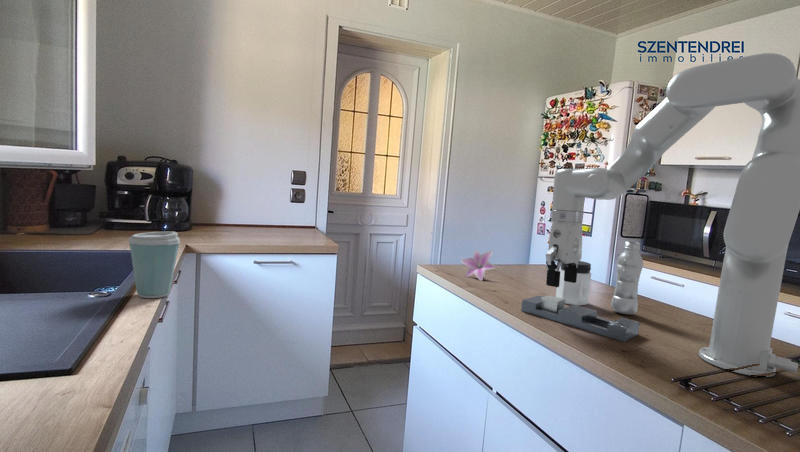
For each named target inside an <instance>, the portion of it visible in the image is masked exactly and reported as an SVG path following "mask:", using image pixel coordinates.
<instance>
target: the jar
mask: <svg viewBox="0 0 800 452" xmlns="http://www.w3.org/2000/svg"><path fill="white" fill-rule="evenodd" d="M565 266H567V265H566V264H565V263H564V262H562V264H561V267H560V269H559V271H560V283H559V287H556V290H555V297H558V298H562V299H566V302H565V305H566V304H567V305H570V306H572V305H577V306H585V305H588V302H589V294H590V287H591V280H592V273H591V269H592V268H591V267H592V264H591V263H589V262H588V261H587V262H586V261H582V260H580V261H579V262H578V269H577V281H576V283H571V282H566V281H564V272H565Z"/></svg>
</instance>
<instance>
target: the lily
mask: <svg viewBox="0 0 800 452" xmlns="http://www.w3.org/2000/svg"><path fill="white" fill-rule="evenodd" d="M493 253H494V250H487V251H486V252H484V253H480V252H479V250H477V249H476V250H475V251H474V254H473V257H467V258H463V259H460V262H461V263H462V264H463V265H464V266H466V267H467V268H468V269H467V271H466V273H465V275H464V277H465V276H467V277H470V276H472V275H475V276H476V278H477V279H478V280H479V281H480V280H481V281H480V282H482V281H483V279H484V275H485V273H486V271H488V270H493V269H496V266H495V265H493V264H492V263H491V262H489V261H490V259H491V257H492V255H493Z"/></svg>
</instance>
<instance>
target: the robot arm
mask: <svg viewBox="0 0 800 452" xmlns="http://www.w3.org/2000/svg"><path fill="white" fill-rule="evenodd" d="M796 70H797V69H796V67H795V65H794V63H793V62H792V60H791V59H790V58H788V57H787V56H785V55H782V54H779V53H773V52H772V53H771V52H770V53H769V52H768V53H767V52H765V53H757V54H752V55H747V56H746V55H745V56H742V57H736V58H732V59H727V60H722V61H717V62H716V61H715V62H710V63H706V64H701V65H695V66H693V67H689V68H686V69H684V70H682V71H680V72H678V73H677V74H676V75H674V76H673V77H672V78H671V80H670V81H669V82H668V85H667V87H666V91H665V93H666V97H665V98H664V99H663V100H662V101H661V102H660V103H659V104H658V105H657V106H656V107H654V109H652V111H650V112H649V114H647V115H646V116H645V117H644V118H643V119H642V120H640V121H639V123H638V124H636V125H635V127H634V129H633V131H632V133H631V136H630V140H629V143H628V145H627V146H626V148H625V149H624V151H623V152H622V153H621V154H620V155H619V156H618V157H617V159H615V161H613V162H612V163H611V164H610V165H609V166H607V168H604V167H591V168H584V169H579V168H561V169H557V170H556V171H555V173H554V178H553V179H554V180H553V190H552V191H553V192H552V193H553V194H552V206H551V217H550V222H551V228H550V233H549V234H550V235H549V238H548V239H549V240H548V248H547V250H548V251H547V252H546V253H545V260H546V261H545V262H546V283H545V284H546V286H549V287H552V288H553V287H554V288H557V287H559V283H560V271H559V269H560V268H561V264H562V262H564V263H565V264H566V265H567V266H565V272H564V281H566V282H571V283H576V281H577V269H578V262H579V261H582V256H583V221H584V220H583V219H584V209H585V199H586V198H587V199H591V200H600V201H601V200H603V201H605V200H606V201H610V200H615V199H617V198H619V197H620V196H622V195H623V194H625V193H626V192H627V191H628V190H629V189H630V188H631V187H632V186H634V185H635V184H636V183H637V182H638V181H639V180H641V179H642V178H643V177H644V176H645V175H646V174H647V173H648V171H649V170H650V169H651V168H652V167H654V165H655V164H656V163H657V162H658V161H659V160H660V159H661V158H662V156H663V155H664V154H665V153H666V152H667V151H668V150H669V149H670V148H671V147H672V146H673V145H675V144H676V143H677V142H678V141H679V140H680V139H682V138H683V137H684V136H685V135H686V134H687V133H688V132H689V131H691V130H692V129H693V128H694V127H696V125H697V124H699V122H701V121H702V120H703V119H704V118H706V116H708V114H709V113H711V112H712V111H713V110H714V109H715V107H723V106H730V105H735V104H736V105H737V104H743V103H744V104H745V105H746V106H748V107H749V108H752V109H754V110H755V111H758V113H759V114H760V116H761V121H762V123H761V126H760V130H759V133H758V136H757V140H756V141H757V142H756V145H755V148H754V151H753V154H752V158H751V160H750V161H748V162H747V163H746V165H745V166H744V167H743V169H742V170H741V172H740V175H739V178H738V181H737V183H736V188H735V190H734V195H733V199H732V202H731V206H730V209H729V212H728V215H727V219H726V223H725V226H724V230H723V242H724V244H725V250H724V257H723V263H722V267H721V268H722V269H721V273H720V278H719V284H718V291H717V297H716V302H715V310H714V315H713V321H712V326H711V334H710V339H709V345H708V346H704V347H701V348H700V349H699V351H698V355H699V357H700V358H701V359H702V360H704V361H705V362H706V363H709V364H710V365H714V366H715V367H718V368H720V369H723V370H726V369H729V368H738V367H742V366H747V365H752V364H760V365H758V366H753V367H748V368H744V369H739V370H735V371H732V372H733V373H737V374H741V375H744V376H745V375H746V376H751V375H757V374H763V373H771V372H776V373H777V368H778V369H780V370H781V369H782V370H784V371H785V372H786V371H787V372H789V373H794V374H797V372H798V368H799V363H798V362H795V361H791V359H789V358H786V357H780V356H777V355H776V354H775V353H773V347H771V346H770V345H771V340H772V336H773V329H774V324H775V318H776V312H777V307H778V302H779V296H780V292H781V287H782V281H783V277H784V276H783V275H784V270H785V264H786V257H787V252H788V248H789V243H790V240H791V237H792V234H793V231H794V228H795V225H796V222H797V219H798V216H799V213H800V78H798V77H797V72H796ZM776 373H775V374H773V375H770V376H766V377H765V378H769V377H773V376H775V375H776ZM751 377H752V376H751Z"/></svg>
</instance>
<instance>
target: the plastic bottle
mask: <svg viewBox="0 0 800 452" xmlns="http://www.w3.org/2000/svg"><path fill="white" fill-rule="evenodd" d="M624 243H625V244H624V247H623V248H624V250H623V251H622V252H621V253H620V254H619V255H618V256H617V258H616V282H615V288H614V293H613V295H612V298H611V300H610V301H611V302H610V303H611V309H612V310H613V311H614V312H616V313H619V314H622V315H631V316H633V315H635V314H636V313H637V312H638V309H639V308H638V307H639V299H638V294H639V293H638V292H639V290H638V288H639V282H640V278H641V274H642V271H643V267H644V260H643V258H642V255H641V254H640V252H639V251H640V250H641V243H639V242H635V241H625V242H624Z"/></svg>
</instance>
